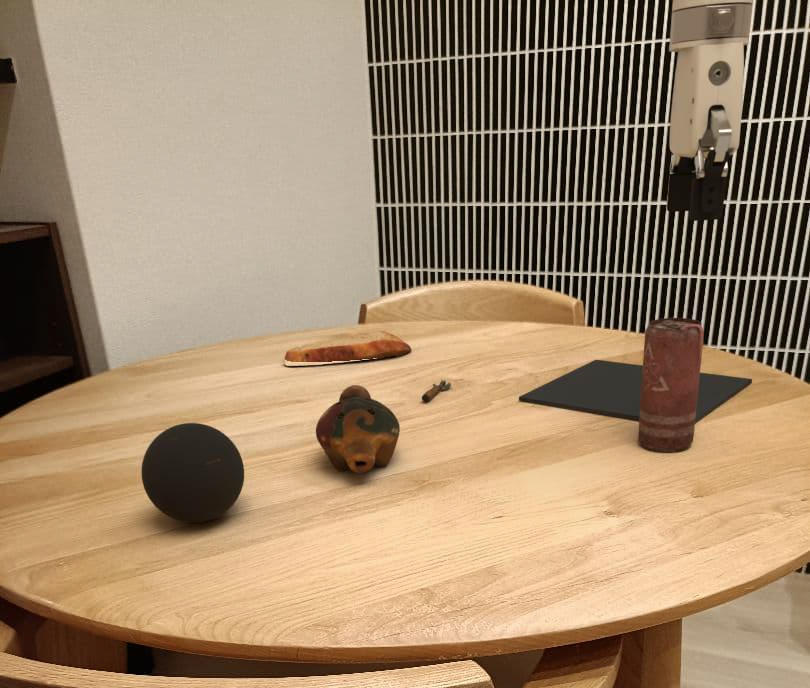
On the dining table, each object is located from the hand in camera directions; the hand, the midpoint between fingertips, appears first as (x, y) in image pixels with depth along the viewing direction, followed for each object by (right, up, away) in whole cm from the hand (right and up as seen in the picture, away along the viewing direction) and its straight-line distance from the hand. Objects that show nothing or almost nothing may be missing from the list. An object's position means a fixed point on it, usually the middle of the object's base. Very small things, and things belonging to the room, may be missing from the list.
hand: (692, 215), depth 89 cm
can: (-1, -24, +6) cm, 25 cm away
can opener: (-27, -14, +29) cm, 42 cm away
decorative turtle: (-36, -27, +7) cm, 46 cm away
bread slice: (-41, -4, +52) cm, 66 cm away
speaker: (-52, -33, -4) cm, 62 cm away
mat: (+1, -15, +24) cm, 28 cm away
